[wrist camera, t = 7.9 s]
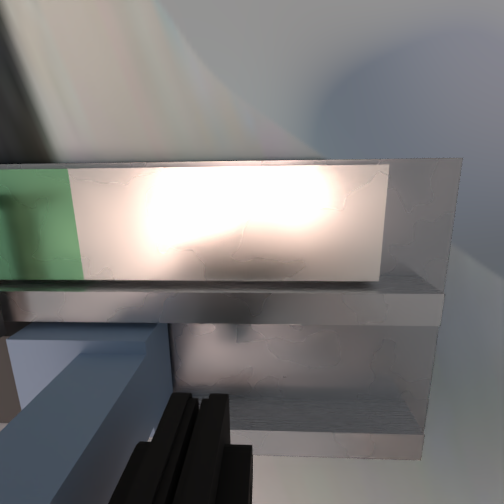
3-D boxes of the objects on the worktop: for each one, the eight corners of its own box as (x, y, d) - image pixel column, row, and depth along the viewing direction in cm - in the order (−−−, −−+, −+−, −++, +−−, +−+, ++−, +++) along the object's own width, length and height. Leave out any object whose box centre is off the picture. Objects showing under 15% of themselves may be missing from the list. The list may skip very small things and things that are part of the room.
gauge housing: (448, 158, 13) (575, 152, 8) (411, 434, 16) (482, 567, 11) (-152, 166, 14) (-407, 166, 9) (-73, 421, 17) (-224, 533, 12)
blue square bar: (166, 311, 14) (42, 486, 6) (173, 394, 15) (74, 629, 7) (49, 310, 14) (-204, 476, 6) (64, 392, 15) (-140, 617, 7)
